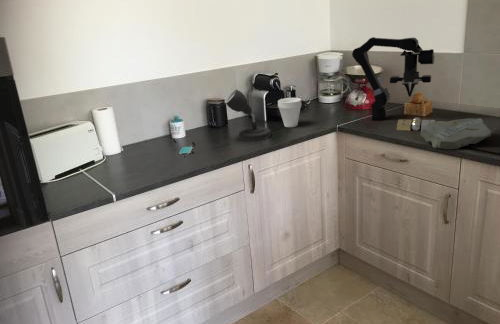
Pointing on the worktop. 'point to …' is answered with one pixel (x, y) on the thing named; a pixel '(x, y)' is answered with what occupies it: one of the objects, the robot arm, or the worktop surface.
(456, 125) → the stone
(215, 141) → the worktop surface
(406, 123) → the olive box with knob
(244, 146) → the worktop surface
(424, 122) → the fixed leaf
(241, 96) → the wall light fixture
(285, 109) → the cup
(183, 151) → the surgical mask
